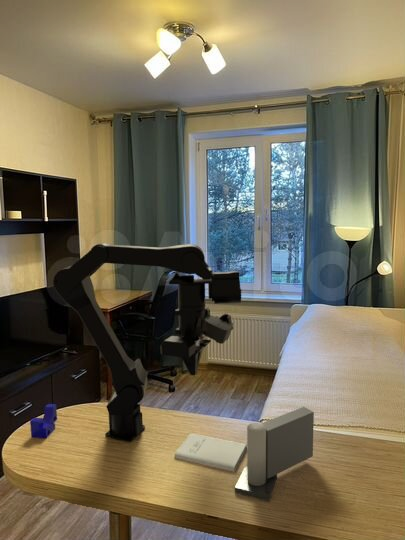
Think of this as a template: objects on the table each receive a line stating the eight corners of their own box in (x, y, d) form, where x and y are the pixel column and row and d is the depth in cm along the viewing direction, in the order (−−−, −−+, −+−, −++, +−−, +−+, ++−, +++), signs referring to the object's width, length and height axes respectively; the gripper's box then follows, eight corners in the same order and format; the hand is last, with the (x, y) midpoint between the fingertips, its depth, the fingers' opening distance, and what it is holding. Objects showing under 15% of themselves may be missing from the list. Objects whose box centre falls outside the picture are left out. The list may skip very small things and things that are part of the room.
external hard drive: (234, 474, 76) (174, 460, 81) (246, 450, 84) (191, 438, 88) (234, 466, 76) (174, 452, 80) (246, 443, 83) (191, 431, 88)
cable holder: (46, 439, 88) (45, 421, 88) (31, 438, 89) (30, 421, 88) (63, 420, 96) (62, 404, 96) (49, 419, 97) (48, 404, 96)
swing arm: (243, 478, 72) (243, 426, 71) (301, 450, 80) (302, 403, 79) (255, 488, 69) (255, 434, 68) (314, 458, 77) (315, 410, 76)
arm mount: (234, 492, 70) (234, 487, 70) (244, 472, 76) (244, 467, 76) (269, 501, 68) (269, 496, 68) (277, 479, 73) (277, 474, 73)
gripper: (211, 318, 75) (212, 398, 77) (241, 297, 92) (241, 364, 94) (157, 313, 79) (160, 390, 81) (195, 294, 96) (197, 358, 98)
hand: (193, 374), depth 88 cm, fingers closed
